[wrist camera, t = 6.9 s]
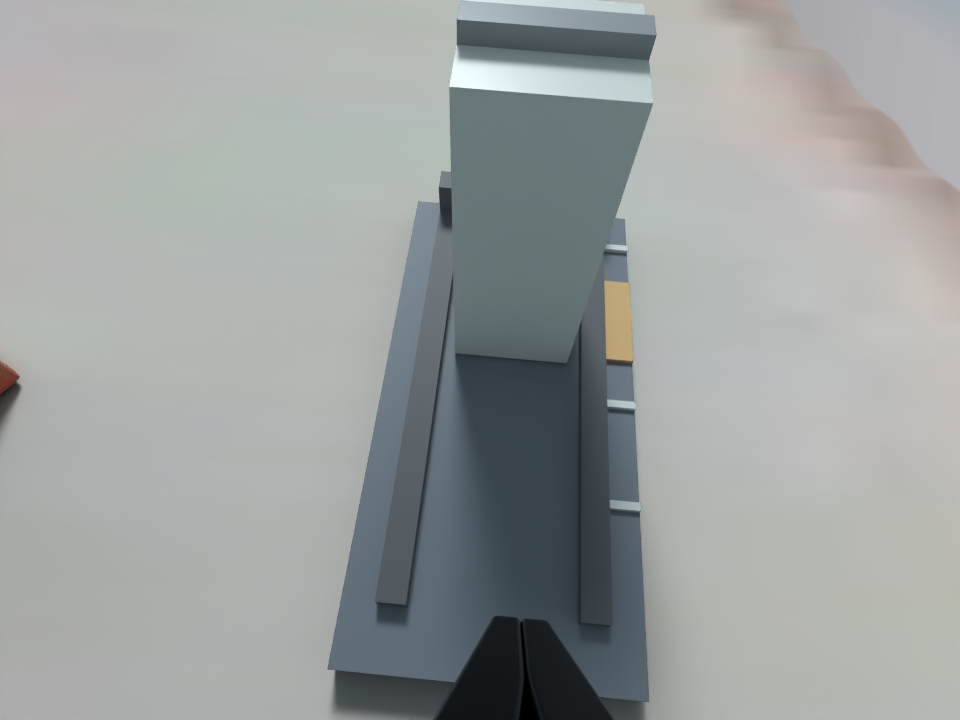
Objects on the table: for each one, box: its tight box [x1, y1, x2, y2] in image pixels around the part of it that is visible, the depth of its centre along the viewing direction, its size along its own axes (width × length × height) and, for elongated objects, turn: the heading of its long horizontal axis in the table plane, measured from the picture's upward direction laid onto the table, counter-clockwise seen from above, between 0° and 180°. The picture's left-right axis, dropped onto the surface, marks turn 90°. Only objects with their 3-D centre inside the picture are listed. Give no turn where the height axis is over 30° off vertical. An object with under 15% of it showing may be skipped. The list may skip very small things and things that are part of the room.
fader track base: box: [328, 171, 649, 702], centre depth 22 cm, size 20×10×3 cm, turn 175°
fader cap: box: [449, 0, 656, 363], centre depth 19 cm, size 4×5×13 cm
